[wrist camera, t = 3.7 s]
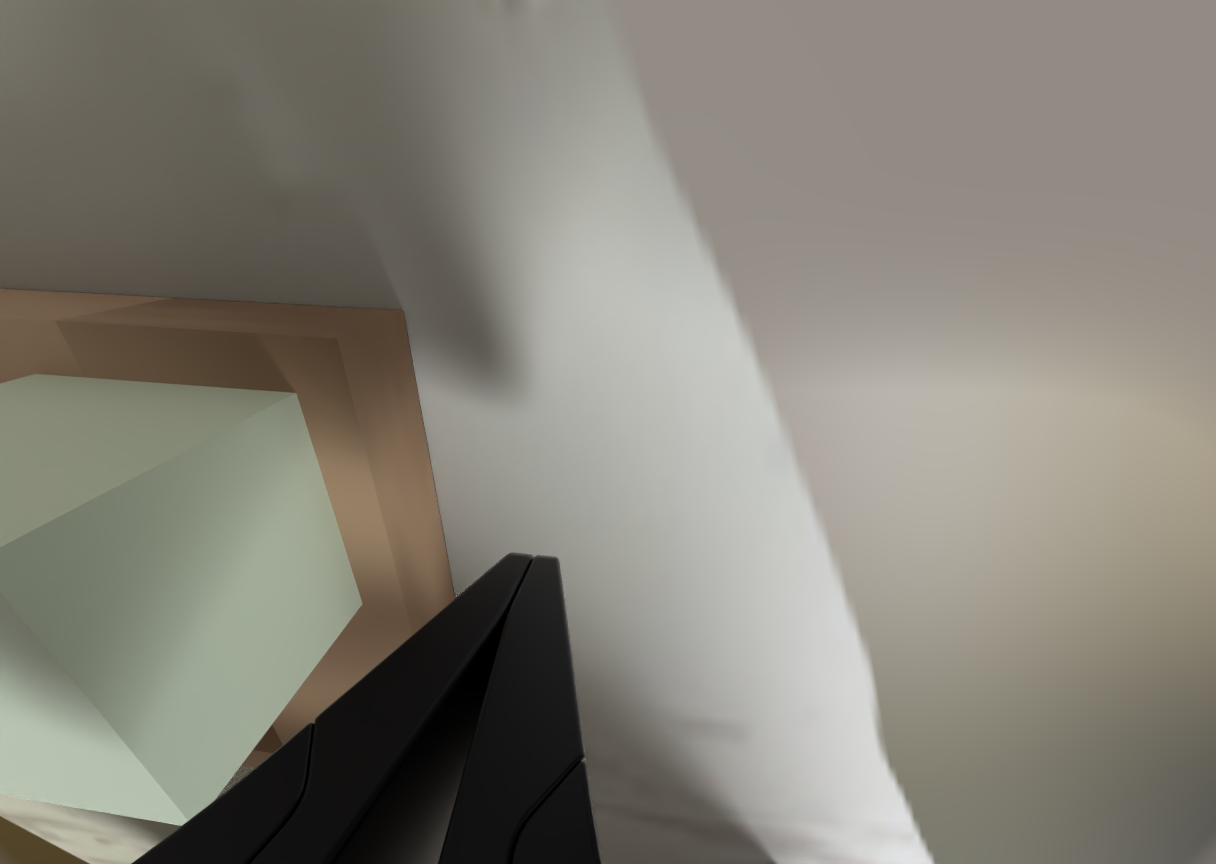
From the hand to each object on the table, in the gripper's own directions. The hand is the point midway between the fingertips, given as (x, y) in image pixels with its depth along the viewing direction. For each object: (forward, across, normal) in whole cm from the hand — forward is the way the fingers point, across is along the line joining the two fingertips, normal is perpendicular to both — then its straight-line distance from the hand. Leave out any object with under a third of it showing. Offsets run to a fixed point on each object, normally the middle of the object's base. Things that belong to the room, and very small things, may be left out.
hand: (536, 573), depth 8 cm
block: (+1, +7, 0) cm, 7 cm away
